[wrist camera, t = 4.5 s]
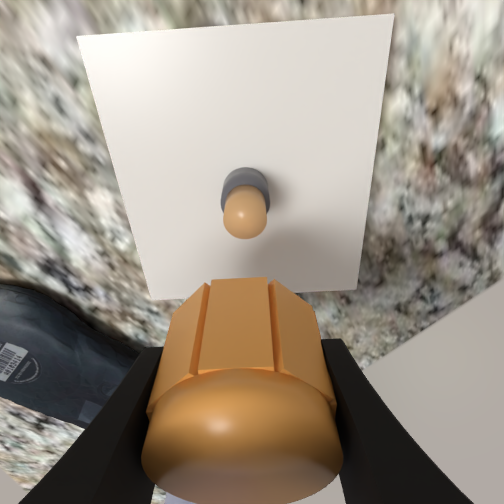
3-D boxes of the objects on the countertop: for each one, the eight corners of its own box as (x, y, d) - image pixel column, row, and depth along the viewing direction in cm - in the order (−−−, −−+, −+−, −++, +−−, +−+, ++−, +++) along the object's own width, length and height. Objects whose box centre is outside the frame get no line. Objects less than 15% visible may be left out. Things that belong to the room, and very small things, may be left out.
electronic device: (199, 342, 25) (-28, 251, 18) (191, 420, 21) (-104, 340, 14) (139, 386, 30) (-60, 327, 23) (124, 456, 26) (-123, 410, 19)
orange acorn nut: (310, 374, 13) (335, 505, 10) (187, 379, 14) (163, 511, 10) (316, 274, 11) (353, 403, 7) (162, 282, 11) (116, 412, 7)
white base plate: (346, 268, 19) (374, 330, 15) (160, 278, 20) (135, 342, 15) (375, 17, 13) (436, 5, 9) (98, 37, 13) (28, 34, 9)
